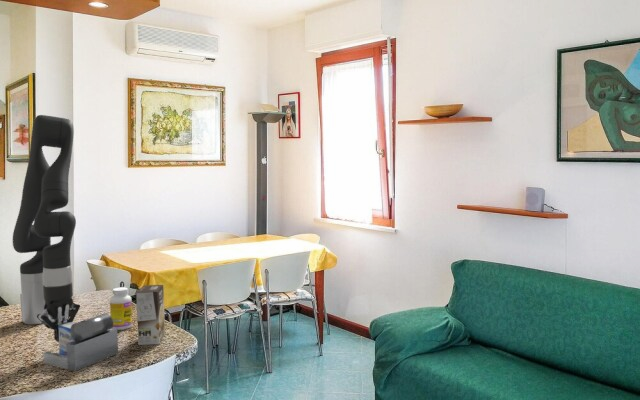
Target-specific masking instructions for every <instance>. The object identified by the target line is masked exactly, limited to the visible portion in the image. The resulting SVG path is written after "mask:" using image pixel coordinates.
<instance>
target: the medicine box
mask: <svg viewBox="0 0 640 400" xmlns="http://www.w3.org/2000/svg"><path fill="white" fill-rule="evenodd" d="M74 323H75V322H74V321H73V322H69V323H65V324H62V325H59V342H58V347H59V349H58V354H61V355H65V356H67V346H66V344H67V343H69V342H72V341H75V340H74V339H73V338H72V336H71V332H70V329H71V326H72V325H73V324H74Z"/></svg>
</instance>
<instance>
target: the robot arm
mask: <svg viewBox="0 0 640 400" xmlns="http://www.w3.org/2000/svg"><path fill="white" fill-rule="evenodd" d="M74 129H75V128H74V123H73V121H72V120H71V119H69V118H64V117H59V116H52V115H46V114H39V115H36V117H35V118H34V120H33V123H32V130H31V135H30V136H31V138H30V147H29V156H28V157H29V158H28V163H27V168H26V173H25V177H24V182H23V185H22V186H23V188H22V192H21V193H22V194H21V201H20V206H19V207H20V208H19V212H18V215H17V218H16V221H15V225H14V229H13V232H12V247H13V249H14V250H15V252H17V253H19V254H26V253H34V252H35V255H34V256H32V257H31V258H30V259H28V260H26V261H24V262H23V263H21V264H20V265H19V272H20V275H19V276H20V287H21V288H20V290H21V291H20V292H21V293H20V295H19V297H20V313H21V314H20V315H21V316H20V317H21V321H22V323H23V324H24V325H40V324H41V325H42V324H43V325H44V326H45V327H46V328H47V329H50V330H53V338H54V341H56V342H58V343H59V325H62V324H65V323H69V322H74V320H75V317H76V316H77V313H78V312H79V310H80V308H81V305H80V304H77V303H75V302H74V300H73V298H72V297H73V295H74V290H73V271H72V266H71V245H72V240H73V236H74V233H75V229H76V225H77V221H76V216H75V215H74V213H72V212H70V211H69V210H68V211H66V210H65V211H64V210H63V211H56V210H59V209H63V208H65V207H67V205H68V204H69V175H70V168H71V167H70V166H71V161H72V152H73V144H74V133H75V131H74ZM43 147H50V148H57V149H60V151H59V154H58V157H56V159H55V160H54V161H53V163H52V164H51V165H49V163H48V161H47V159H46V157H45V154H44V152H43ZM58 237H59V238H60V237H62V238H61V240H60V241H59V242H57V243H53V244H51V243H52V238H58Z"/></svg>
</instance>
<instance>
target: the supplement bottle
mask: <svg viewBox="0 0 640 400" xmlns="http://www.w3.org/2000/svg"><path fill="white" fill-rule="evenodd" d="M128 293H129V288H127V287H124V286H122V287H121V286H120V287H115V288H113V289H112V294H113V296H111V297H110V299H109V309H110V313H109V315H110V316H111V318H112V320H113V329H117V331H121V330H128V329H130V328H131V327H133V307H132V306H133V305H132V304H133V303H132V301H133V300H132V296H130V295H128Z"/></svg>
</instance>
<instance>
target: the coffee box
mask: <svg viewBox="0 0 640 400" xmlns="http://www.w3.org/2000/svg"><path fill="white" fill-rule="evenodd" d="M164 292H165V291H164V284H150V285H143V286H141V287H140V288H139V289H138V290H137V291H136V292H135V294H136V316H137V318H136V320H137V321H136V322H137V344H138V346H139V345H140V346H143V345H144V346H147V345H148V346H149V345H150V346H151V345H160V343H161V341H162V340H163V339H164V337H165V335H166V324H165V323H166V322H165V319H166V318H165V299H164V298H165V295H164Z"/></svg>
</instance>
